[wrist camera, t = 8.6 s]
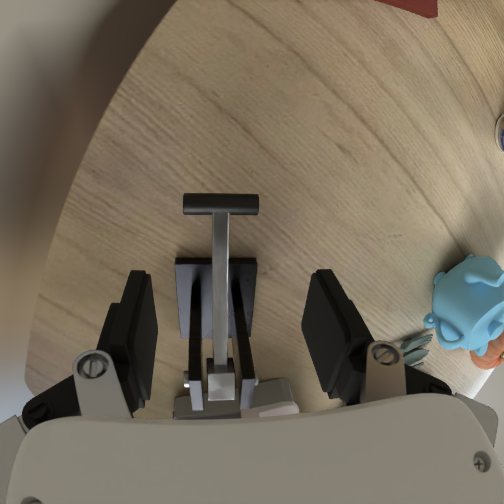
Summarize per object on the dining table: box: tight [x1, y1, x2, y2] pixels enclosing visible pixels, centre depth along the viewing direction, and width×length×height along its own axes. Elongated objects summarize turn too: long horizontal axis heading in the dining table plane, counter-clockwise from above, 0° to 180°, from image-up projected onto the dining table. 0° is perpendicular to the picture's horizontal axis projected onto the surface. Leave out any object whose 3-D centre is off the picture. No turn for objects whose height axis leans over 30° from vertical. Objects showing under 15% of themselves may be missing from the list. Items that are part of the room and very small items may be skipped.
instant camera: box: [173, 378, 299, 420], centre depth 41 cm, size 21×21×15 cm
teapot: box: [423, 255, 504, 356], centre depth 34 cm, size 13×14×11 cm
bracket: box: [175, 258, 258, 411], centre depth 29 cm, size 10×8×13 cm
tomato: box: [470, 330, 504, 369], centre depth 43 cm, size 11×11×8 cm
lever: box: [183, 193, 259, 400], centre depth 23 cm, size 16×5×2 cm, turn 176°
